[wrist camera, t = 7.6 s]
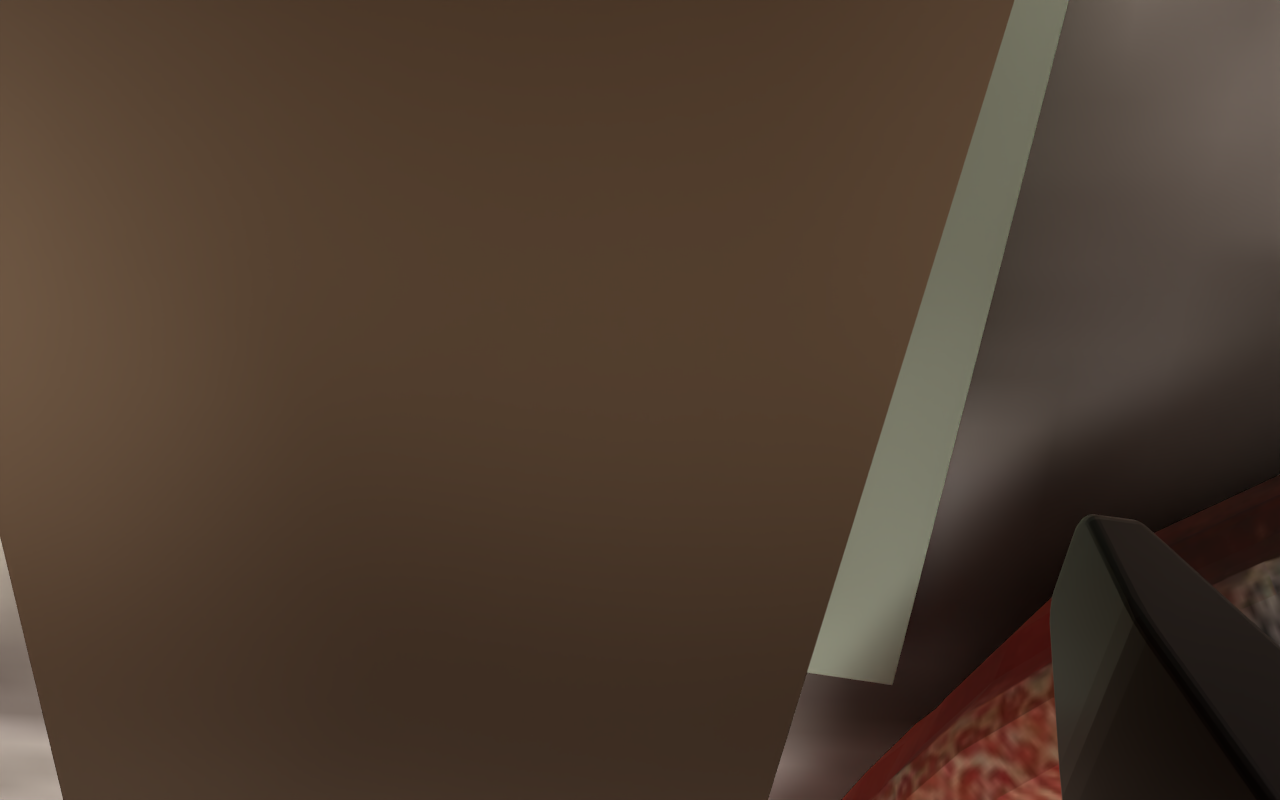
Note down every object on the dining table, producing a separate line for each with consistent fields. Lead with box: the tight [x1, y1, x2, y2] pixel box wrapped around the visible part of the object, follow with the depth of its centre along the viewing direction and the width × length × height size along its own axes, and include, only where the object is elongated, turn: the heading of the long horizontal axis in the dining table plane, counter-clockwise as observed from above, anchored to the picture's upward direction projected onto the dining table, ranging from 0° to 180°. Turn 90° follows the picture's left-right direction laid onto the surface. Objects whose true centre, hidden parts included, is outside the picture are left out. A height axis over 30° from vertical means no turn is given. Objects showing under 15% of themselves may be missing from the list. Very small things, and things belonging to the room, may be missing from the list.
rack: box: [807, 0, 1069, 685], centre depth 13 cm, size 14×9×4 cm, turn 177°
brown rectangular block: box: [0, 0, 1014, 800], centre depth 9 cm, size 12×4×5 cm, turn 173°
